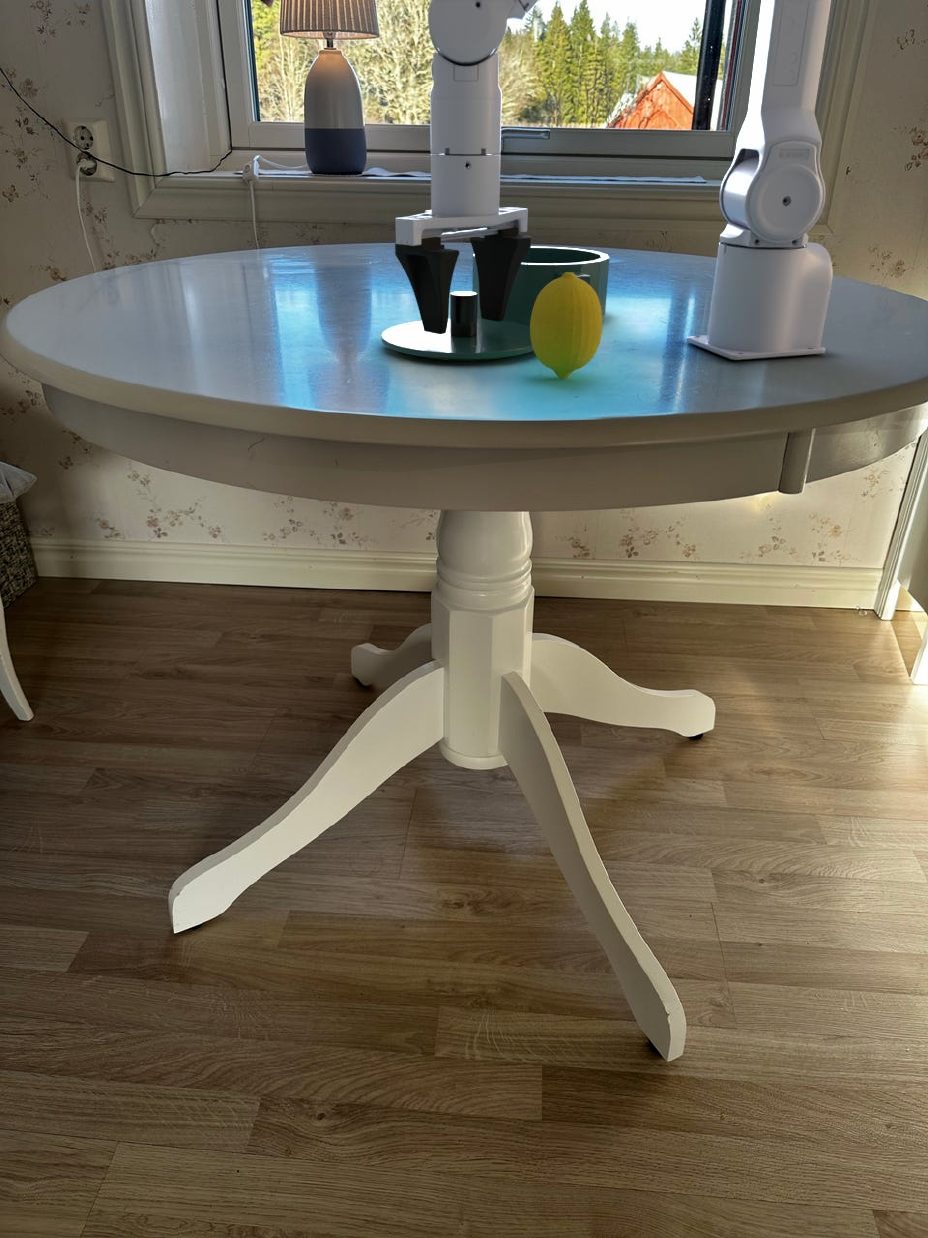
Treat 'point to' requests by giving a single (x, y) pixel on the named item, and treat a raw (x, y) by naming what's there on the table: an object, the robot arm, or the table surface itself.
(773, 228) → the robot arm
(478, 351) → the lid
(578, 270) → the pot
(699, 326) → the table surface
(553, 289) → the lemon
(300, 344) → the table surface
